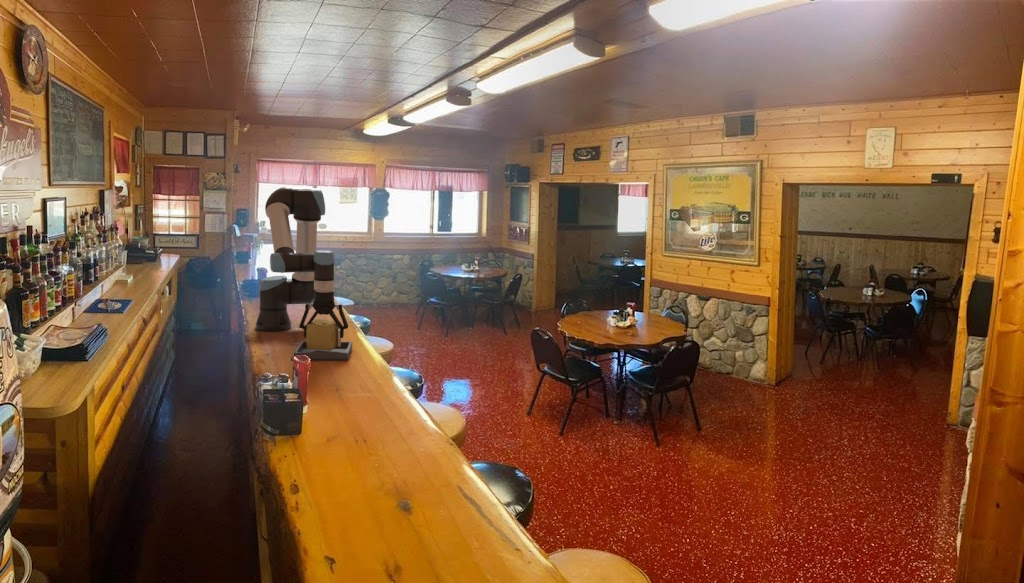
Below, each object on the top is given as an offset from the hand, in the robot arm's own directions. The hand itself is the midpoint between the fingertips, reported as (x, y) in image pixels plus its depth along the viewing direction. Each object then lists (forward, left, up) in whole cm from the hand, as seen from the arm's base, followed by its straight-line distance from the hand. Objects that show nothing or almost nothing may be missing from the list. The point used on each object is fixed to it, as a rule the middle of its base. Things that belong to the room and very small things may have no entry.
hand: (324, 345), depth 253 cm
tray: (0, 0, -3) cm, 3 cm away
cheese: (0, 0, -1) cm, 1 cm away
